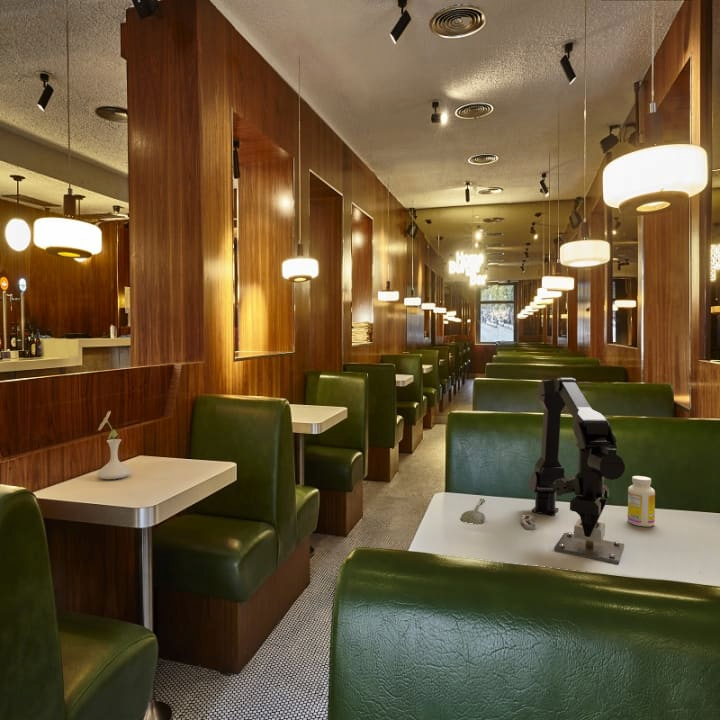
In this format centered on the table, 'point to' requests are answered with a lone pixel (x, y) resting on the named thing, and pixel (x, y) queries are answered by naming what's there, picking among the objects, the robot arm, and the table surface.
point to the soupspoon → (474, 515)
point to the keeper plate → (590, 548)
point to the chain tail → (528, 522)
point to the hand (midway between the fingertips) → (589, 532)
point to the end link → (595, 536)
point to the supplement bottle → (641, 502)
